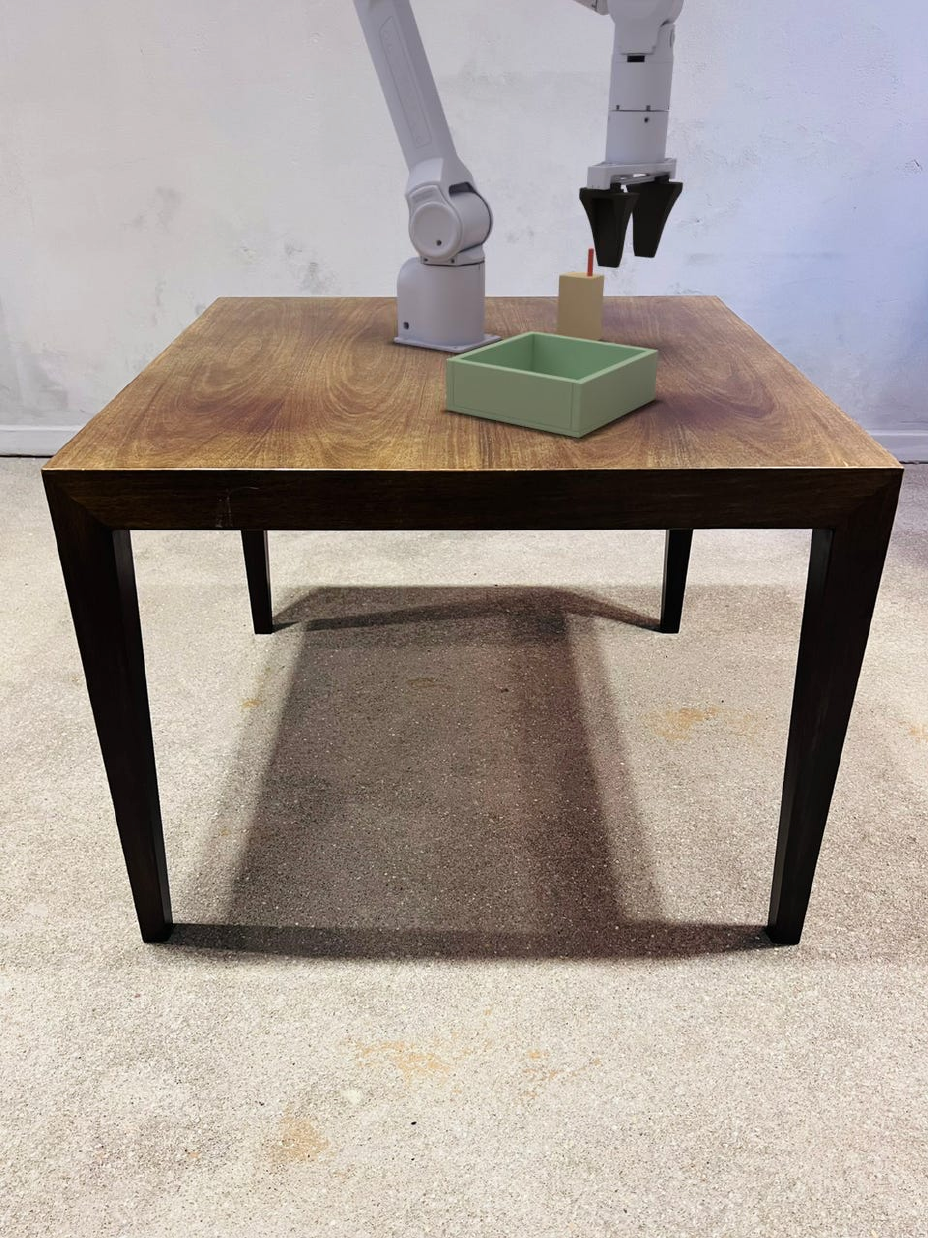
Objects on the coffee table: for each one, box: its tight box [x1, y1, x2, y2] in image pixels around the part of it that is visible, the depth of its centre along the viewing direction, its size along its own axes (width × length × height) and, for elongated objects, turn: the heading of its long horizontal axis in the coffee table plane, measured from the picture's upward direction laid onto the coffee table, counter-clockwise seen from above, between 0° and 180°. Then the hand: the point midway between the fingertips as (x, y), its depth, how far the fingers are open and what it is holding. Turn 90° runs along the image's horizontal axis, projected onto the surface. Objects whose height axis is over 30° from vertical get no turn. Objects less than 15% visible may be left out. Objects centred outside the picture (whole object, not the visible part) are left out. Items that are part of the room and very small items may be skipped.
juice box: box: [556, 247, 605, 341], centre depth 108 cm, size 4×3×10 cm
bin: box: [445, 330, 659, 439], centre depth 87 cm, size 14×14×4 cm
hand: (626, 261), depth 99 cm, fingers open, 7 cm apart
